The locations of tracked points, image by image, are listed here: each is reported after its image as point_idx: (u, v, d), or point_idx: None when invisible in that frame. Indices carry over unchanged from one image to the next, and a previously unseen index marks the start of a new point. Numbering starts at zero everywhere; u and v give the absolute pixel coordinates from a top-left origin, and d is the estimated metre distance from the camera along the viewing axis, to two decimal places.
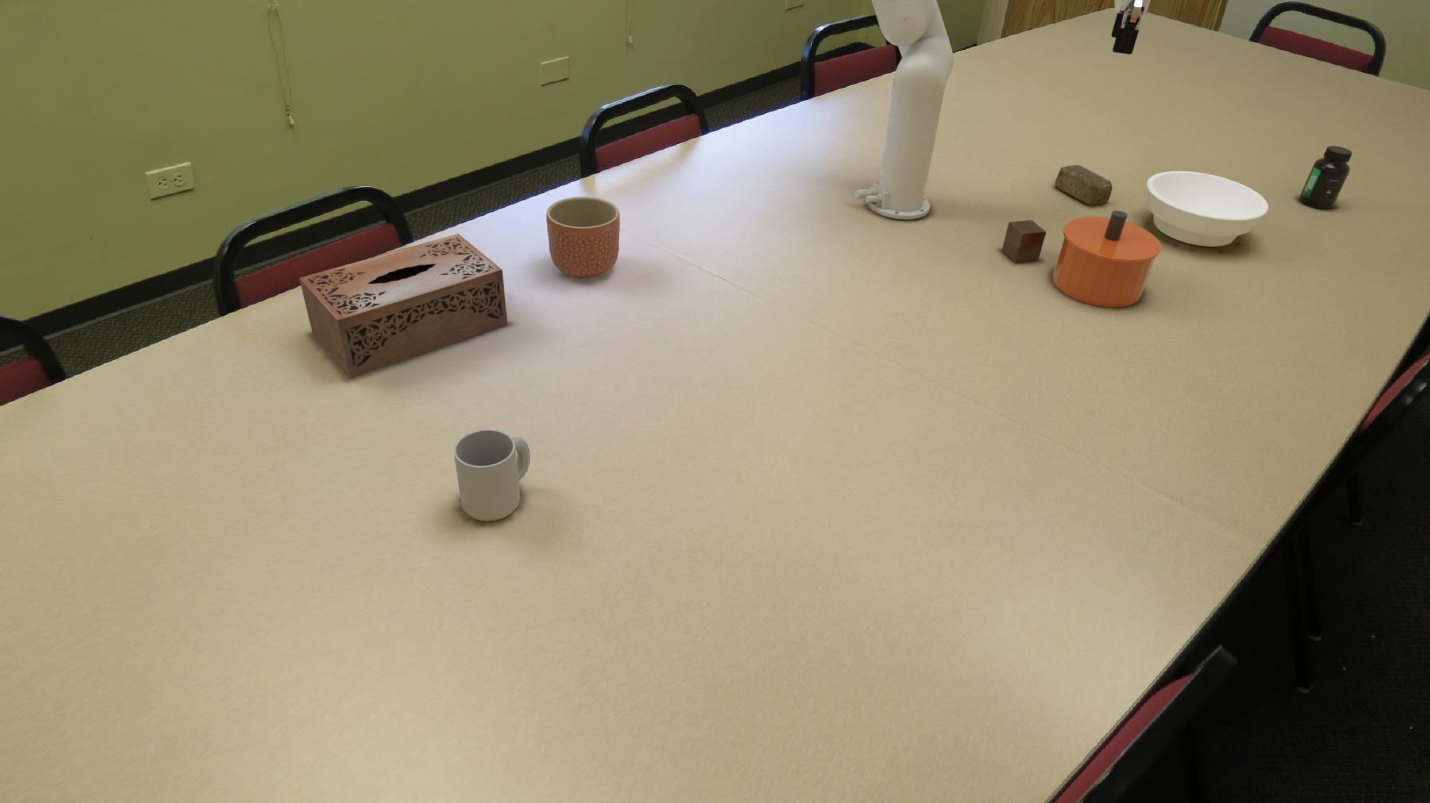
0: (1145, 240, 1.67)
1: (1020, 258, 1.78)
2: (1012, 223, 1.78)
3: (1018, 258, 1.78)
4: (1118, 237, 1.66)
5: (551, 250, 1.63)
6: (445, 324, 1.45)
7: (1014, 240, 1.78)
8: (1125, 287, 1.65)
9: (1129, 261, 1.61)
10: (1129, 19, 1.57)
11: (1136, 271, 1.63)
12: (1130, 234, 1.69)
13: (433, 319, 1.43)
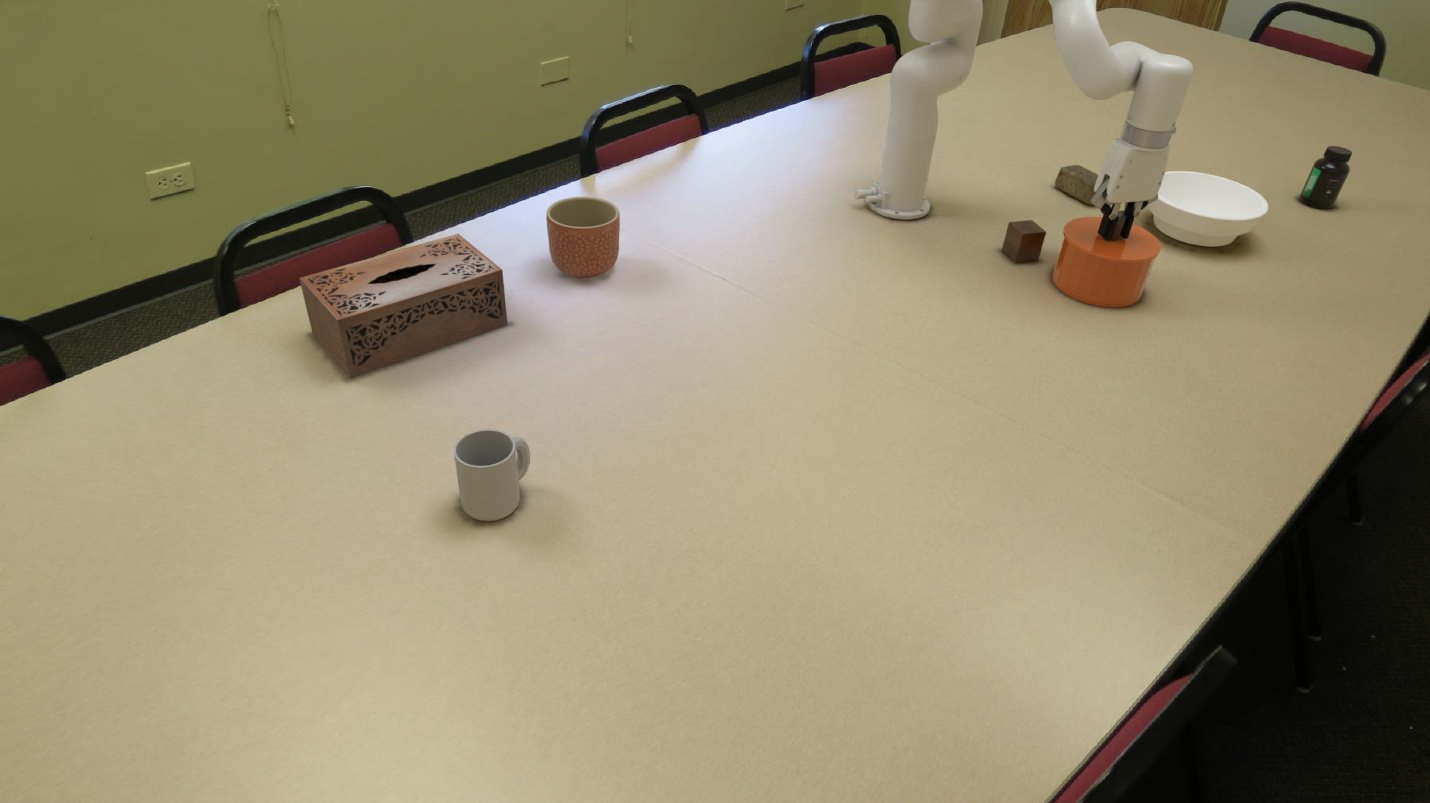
0: (1145, 240, 1.67)
1: (1020, 258, 1.78)
2: (1012, 223, 1.78)
3: (1018, 258, 1.78)
4: (1118, 237, 1.66)
5: (551, 250, 1.63)
6: (445, 324, 1.45)
7: (1014, 240, 1.78)
8: (1125, 287, 1.65)
9: (1129, 261, 1.61)
10: None
11: (1136, 271, 1.63)
12: (1130, 234, 1.69)
13: (433, 319, 1.43)
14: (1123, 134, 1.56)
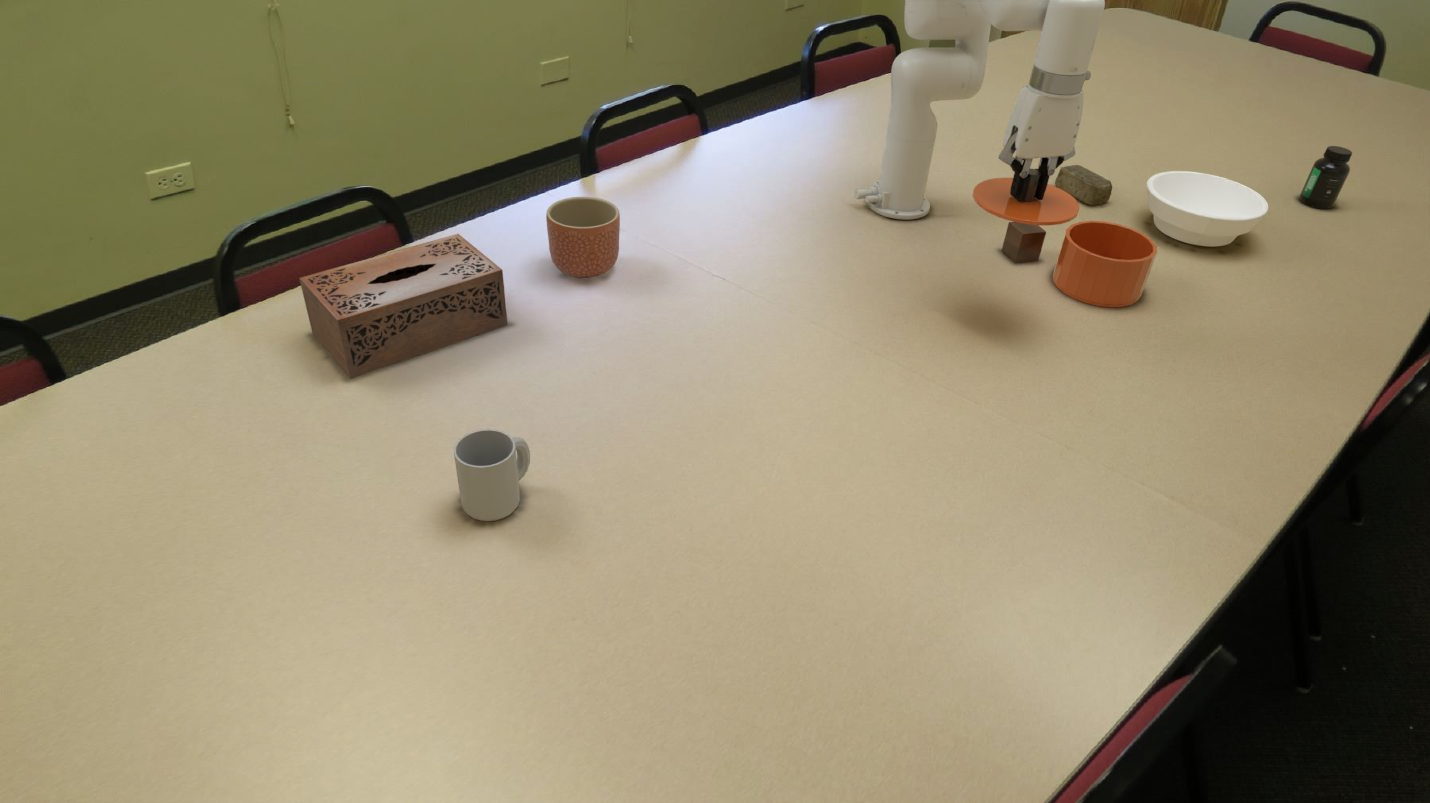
0: (1063, 202, 1.50)
1: (1020, 258, 1.78)
2: (1012, 223, 1.78)
3: (1018, 258, 1.78)
4: (1032, 198, 1.49)
5: (551, 250, 1.63)
6: (445, 324, 1.45)
7: (1014, 240, 1.78)
8: (1125, 287, 1.65)
9: (1041, 223, 1.44)
10: None
11: (1136, 271, 1.63)
12: (1047, 195, 1.52)
13: (433, 319, 1.43)
14: (1031, 80, 1.39)
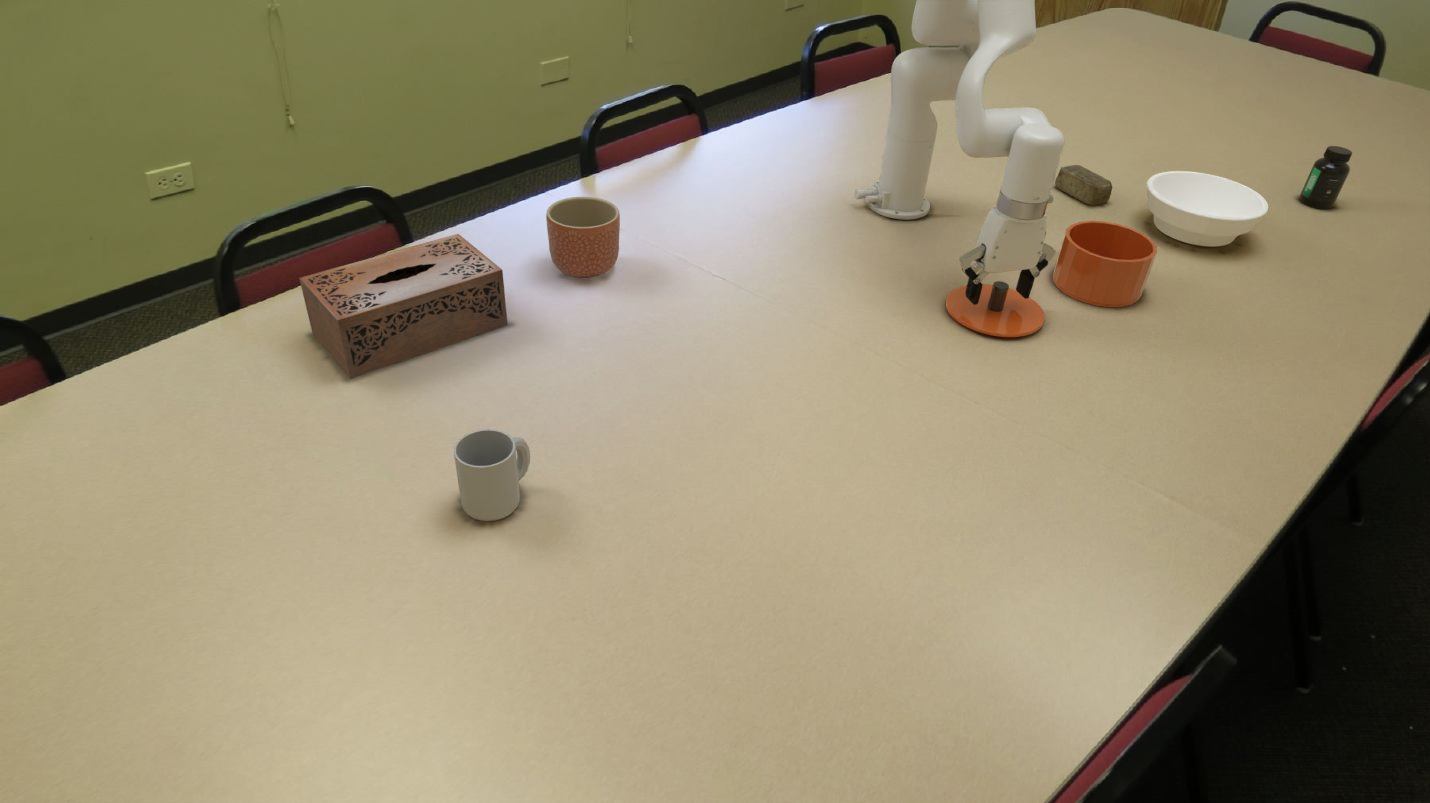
0: (1029, 311, 1.62)
1: None
2: None
3: None
4: (1000, 308, 1.61)
5: (551, 250, 1.63)
6: (445, 324, 1.45)
7: None
8: (1125, 287, 1.65)
9: (1008, 335, 1.56)
10: (962, 268, 1.56)
11: (1136, 271, 1.63)
12: (1015, 304, 1.64)
13: (433, 319, 1.43)
14: (998, 204, 1.51)
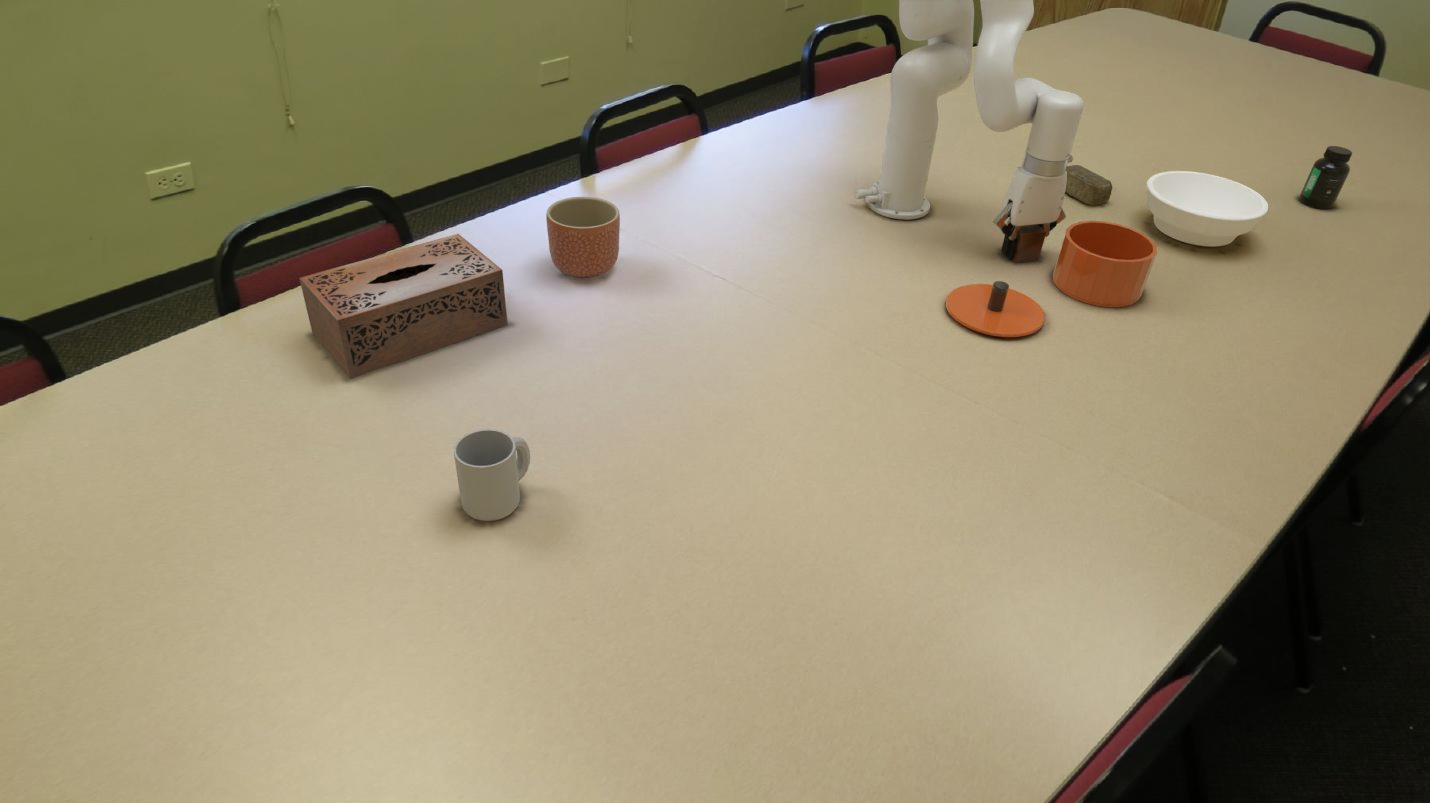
0: (1029, 311, 1.62)
1: (1020, 258, 1.78)
2: None
3: (1018, 258, 1.78)
4: (1000, 308, 1.61)
5: (551, 250, 1.63)
6: (445, 324, 1.45)
7: None
8: (1125, 287, 1.65)
9: (1008, 335, 1.56)
10: None
11: (1136, 271, 1.63)
12: (1015, 304, 1.64)
13: (433, 319, 1.43)
14: (1024, 163, 1.70)
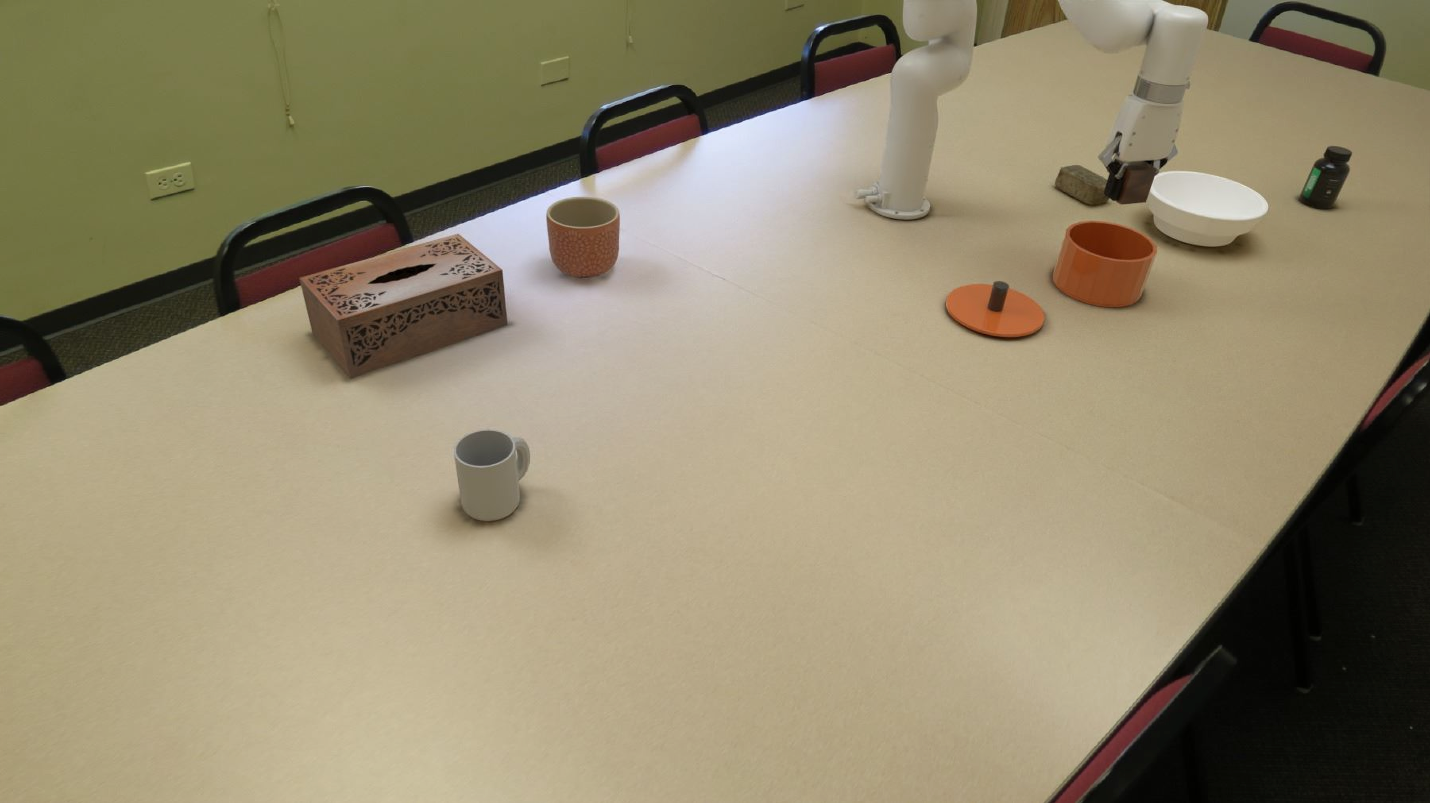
0: (1029, 311, 1.62)
1: (1127, 199, 1.60)
2: None
3: (1125, 199, 1.60)
4: (1000, 308, 1.61)
5: (551, 250, 1.63)
6: (445, 324, 1.45)
7: None
8: (1125, 287, 1.65)
9: (1008, 335, 1.56)
10: None
11: (1136, 271, 1.63)
12: (1015, 304, 1.64)
13: (433, 319, 1.43)
14: (1136, 89, 1.52)
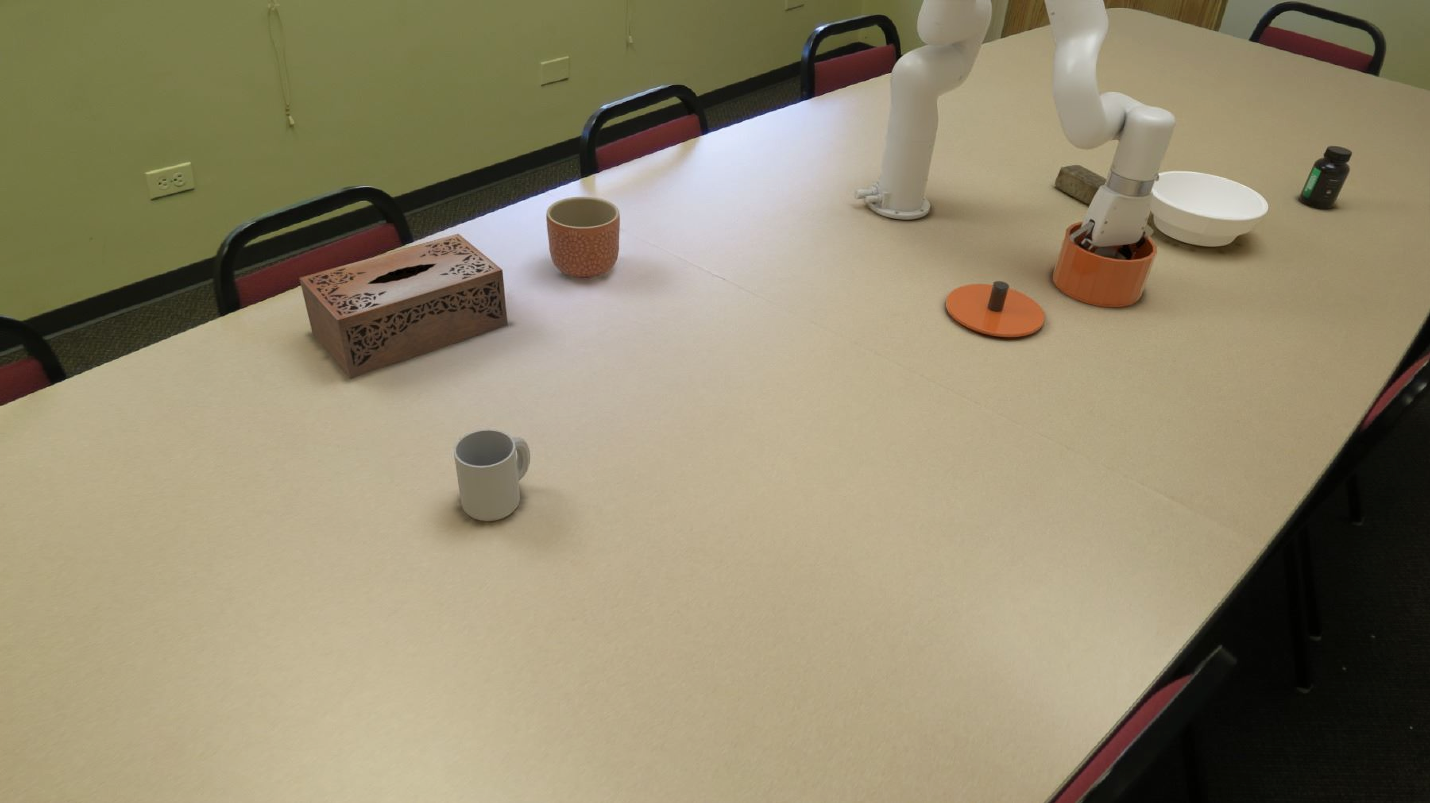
0: (1029, 311, 1.62)
1: None
2: None
3: None
4: (1000, 308, 1.61)
5: (551, 250, 1.63)
6: (445, 324, 1.45)
7: None
8: (1125, 287, 1.65)
9: (1008, 335, 1.56)
10: None
11: (1136, 271, 1.63)
12: (1015, 304, 1.64)
13: (433, 319, 1.43)
14: (1108, 181, 1.61)
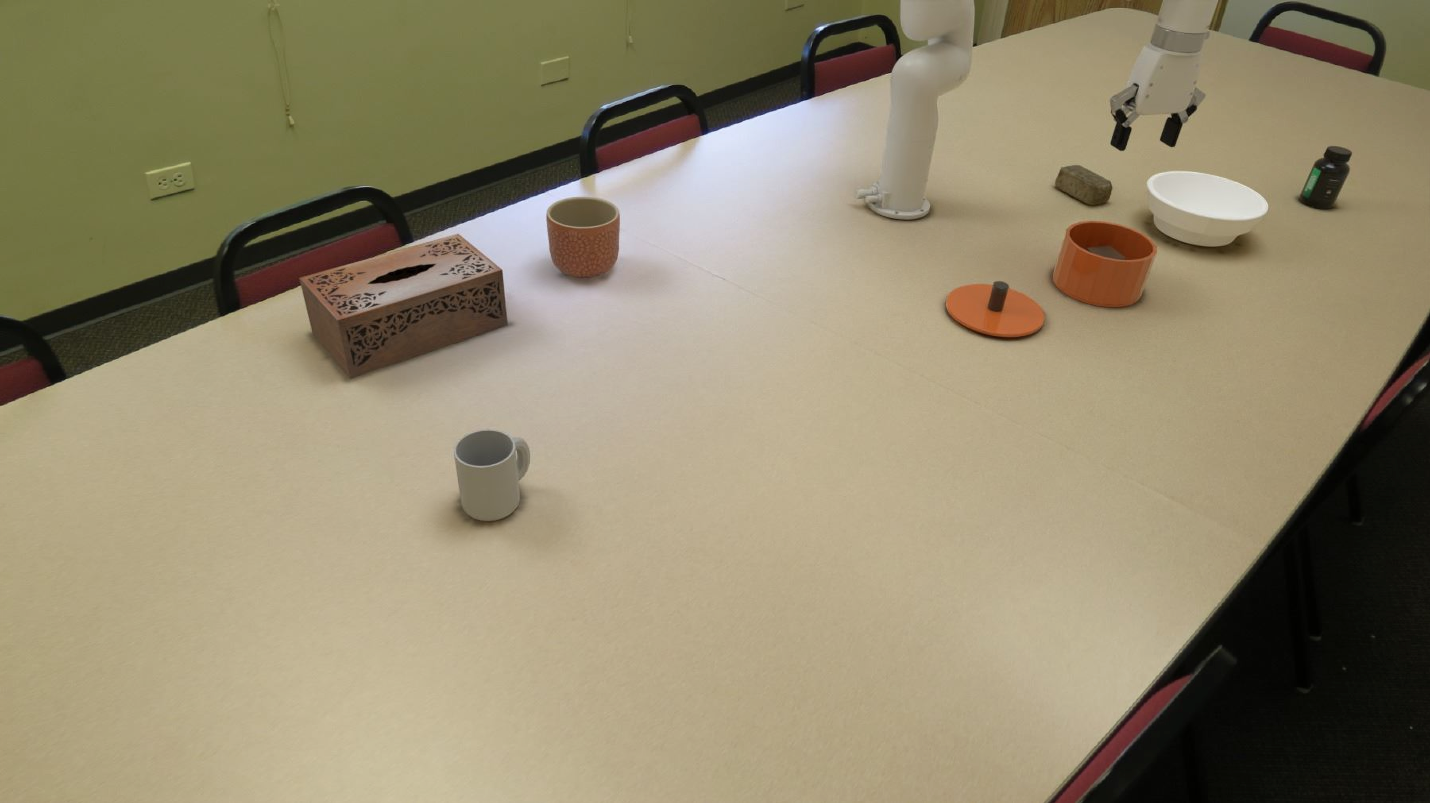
0: (1029, 311, 1.62)
1: None
2: (1090, 249, 1.70)
3: None
4: (1000, 308, 1.61)
5: (551, 250, 1.63)
6: (445, 324, 1.45)
7: None
8: (1125, 287, 1.65)
9: (1008, 335, 1.56)
10: (1111, 111, 1.52)
11: (1136, 271, 1.63)
12: (1015, 304, 1.64)
13: (433, 319, 1.43)
14: (1153, 39, 1.47)
